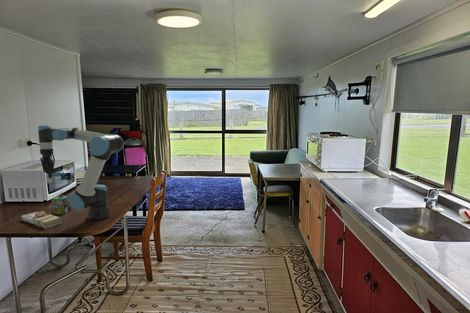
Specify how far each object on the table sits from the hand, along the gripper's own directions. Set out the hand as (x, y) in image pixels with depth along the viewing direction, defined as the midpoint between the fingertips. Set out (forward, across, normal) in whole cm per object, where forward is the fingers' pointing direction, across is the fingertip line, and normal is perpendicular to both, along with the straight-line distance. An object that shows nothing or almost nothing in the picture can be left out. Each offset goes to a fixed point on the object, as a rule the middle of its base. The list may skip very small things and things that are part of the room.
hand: (49, 182), depth 201 cm
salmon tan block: (+23, 0, +8) cm, 24 cm away
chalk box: (+26, +6, -11) cm, 29 cm away
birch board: (+26, -8, +8) cm, 28 cm away
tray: (+26, +7, +7) cm, 27 cm away
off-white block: (+22, +7, +8) cm, 24 cm away
